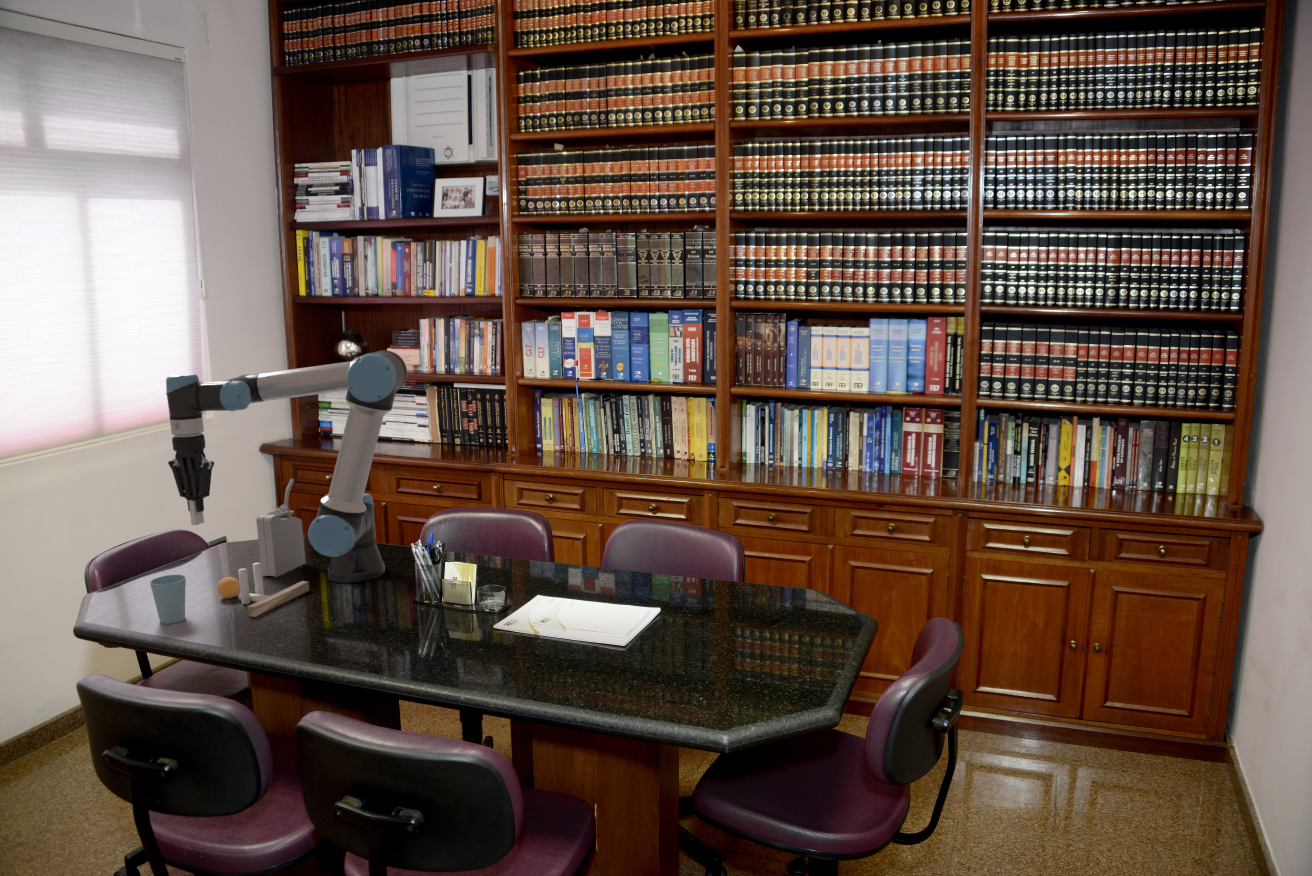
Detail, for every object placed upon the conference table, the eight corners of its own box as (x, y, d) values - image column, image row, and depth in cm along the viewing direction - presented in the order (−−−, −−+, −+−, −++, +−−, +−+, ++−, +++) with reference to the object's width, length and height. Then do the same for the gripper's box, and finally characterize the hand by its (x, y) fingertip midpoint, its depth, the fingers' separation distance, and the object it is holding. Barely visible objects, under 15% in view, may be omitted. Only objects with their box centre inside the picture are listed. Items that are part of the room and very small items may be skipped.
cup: (189, 622, 225) (184, 581, 223) (153, 628, 222) (148, 586, 220) (191, 612, 232) (186, 572, 230) (156, 617, 229) (151, 577, 227)
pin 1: (251, 602, 239) (248, 568, 237) (246, 604, 237) (242, 571, 235) (245, 601, 239) (242, 568, 238) (239, 604, 237) (236, 570, 236)
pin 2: (265, 595, 243) (262, 562, 242) (260, 598, 241) (257, 565, 240) (259, 595, 244) (256, 562, 242) (254, 597, 242) (250, 564, 241)
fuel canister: (297, 560, 274) (289, 477, 269) (311, 561, 272) (304, 478, 268) (261, 576, 259) (252, 489, 255) (275, 578, 258) (267, 490, 254)
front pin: (245, 595, 242) (273, 598, 239) (241, 601, 241) (269, 604, 238) (241, 590, 241) (269, 593, 238) (237, 597, 239) (265, 600, 237)
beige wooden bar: (309, 590, 247) (308, 581, 246) (255, 616, 228) (254, 607, 228) (303, 590, 247) (302, 580, 247) (248, 616, 229) (247, 606, 228)
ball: (231, 570, 244) (226, 587, 246) (215, 577, 239) (210, 594, 241) (247, 580, 243) (242, 597, 245) (231, 587, 238) (226, 605, 240)
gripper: (156, 436, 236) (166, 525, 241) (196, 437, 232) (206, 529, 236) (179, 431, 243) (189, 518, 248) (219, 432, 239) (228, 521, 243)
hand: (197, 523), depth 242 cm, fingers closed
